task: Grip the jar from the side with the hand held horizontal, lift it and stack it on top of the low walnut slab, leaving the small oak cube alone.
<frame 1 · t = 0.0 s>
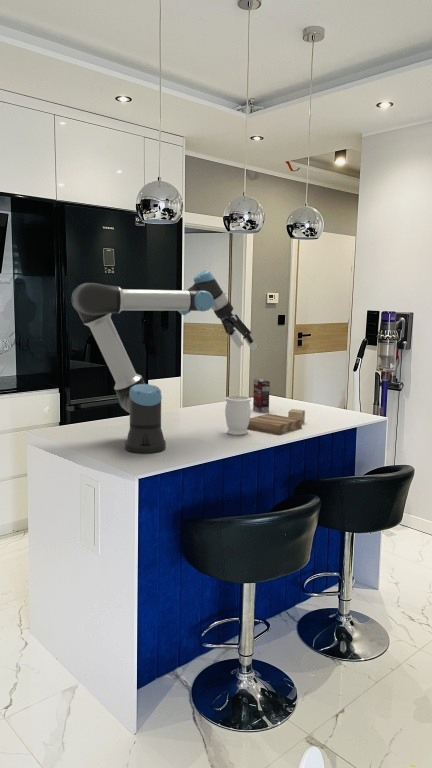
hand: (247, 347, 251), 36 cm above the worktop, tool tilted 35°, fingers open, 13 cm apart
oak cube: (296, 423, 275), on the worktop
walnut slab: (273, 428, 264), on the worktop
supplement box: (260, 411, 302), on the worktop
jar: (237, 433, 254), on the worktop
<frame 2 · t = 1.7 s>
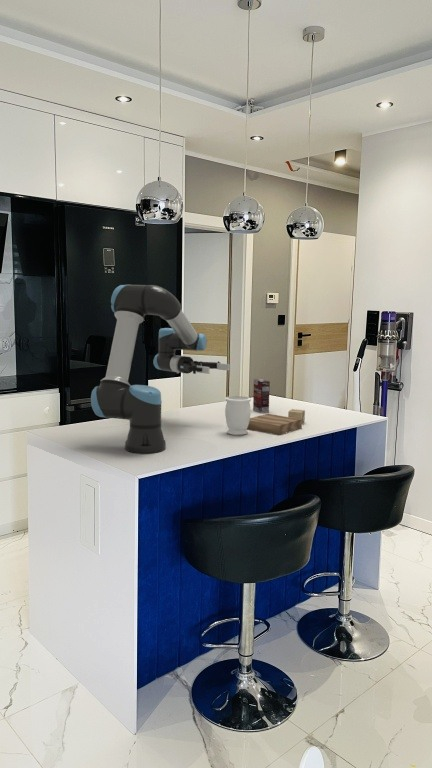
hand: (219, 368, 256), 26 cm above the worktop, tool horizontal, fingers open, 13 cm apart
nothing on the worktop moved.
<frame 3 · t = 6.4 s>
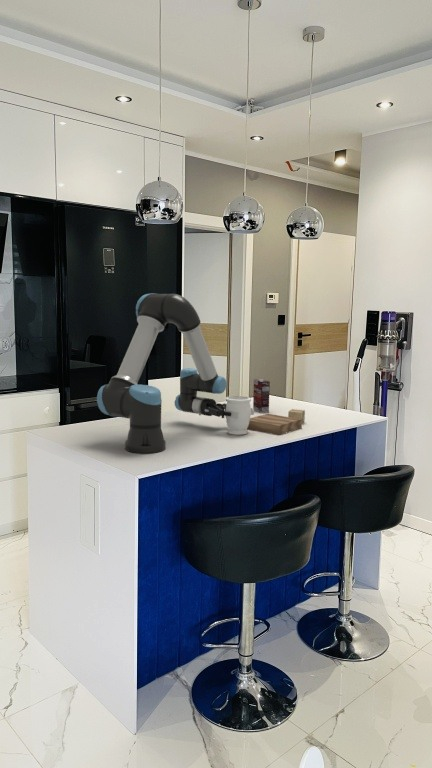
hand: (245, 413, 250), 9 cm above the worktop, tool horizontal, fingers closed on jar, 10 cm apart
jar: (237, 433, 254), on the worktop, touching gripper
everything else where it was.
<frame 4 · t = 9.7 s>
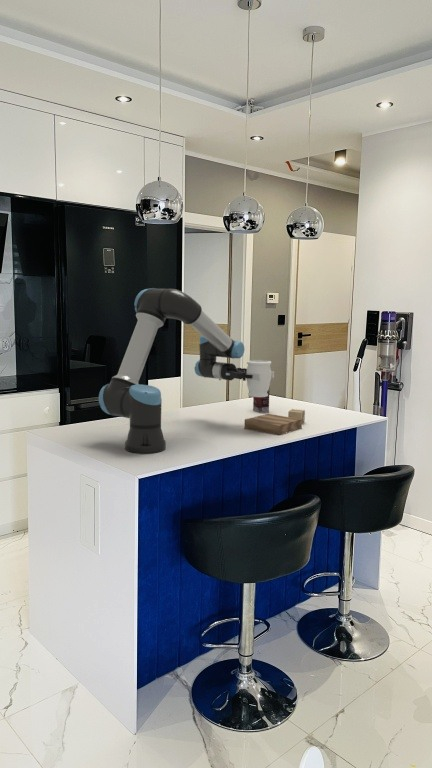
hand: (266, 376, 254), 24 cm above the worktop, tool horizontal, fingers closed on jar, 10 cm apart
jar: (258, 396, 258), point 15 cm above the worktop, touching gripper
everything else where it was.
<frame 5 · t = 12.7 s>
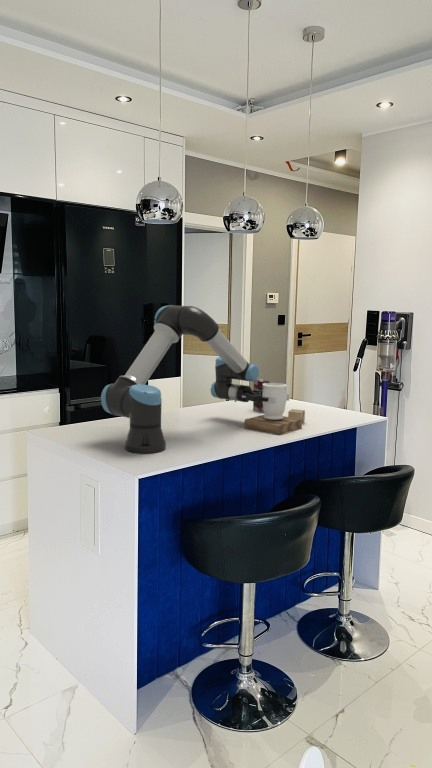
hand: (282, 399, 259), 14 cm above the worktop, tool horizontal, fingers closed on jar, 10 cm apart
jar: (273, 418, 263), point 4 cm above the worktop, touching gripper
everything else where it was.
when the fingers open (13 cm above the worktop, at t = 13.3 s): jar moves 2 cm, resting on walnut slab.
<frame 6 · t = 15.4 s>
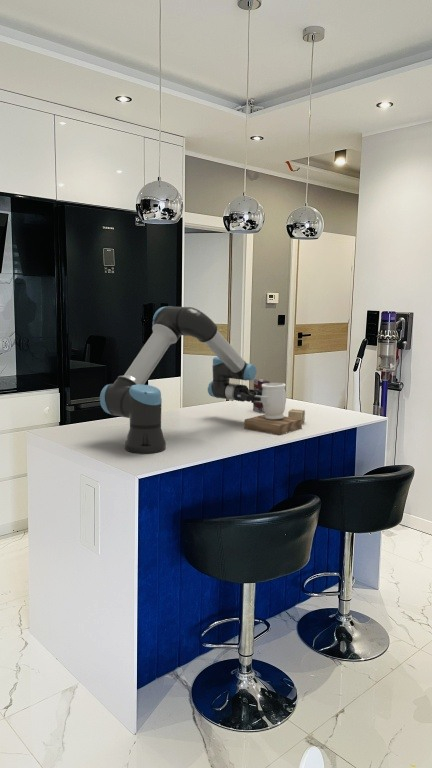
hand: (276, 398, 261), 14 cm above the worktop, tool horizontal, fingers open, 13 cm apart
jar: (274, 418, 265), point 4 cm above the worktop, touching walnut slab
everything else where it was.
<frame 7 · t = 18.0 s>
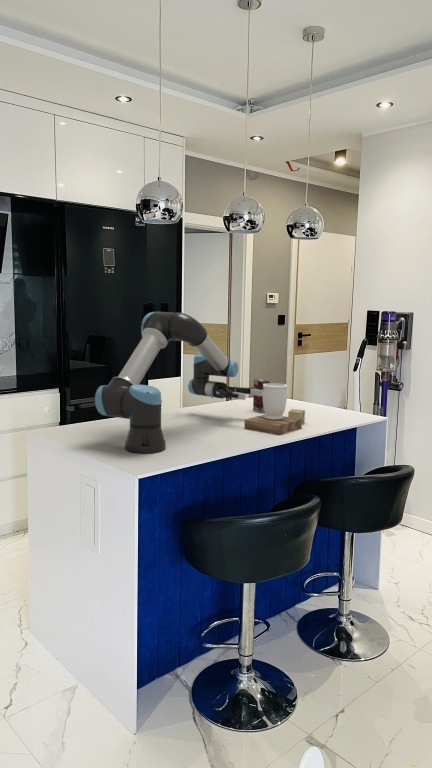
hand: (253, 395, 268), 14 cm above the worktop, tool horizontal, fingers open, 13 cm apart
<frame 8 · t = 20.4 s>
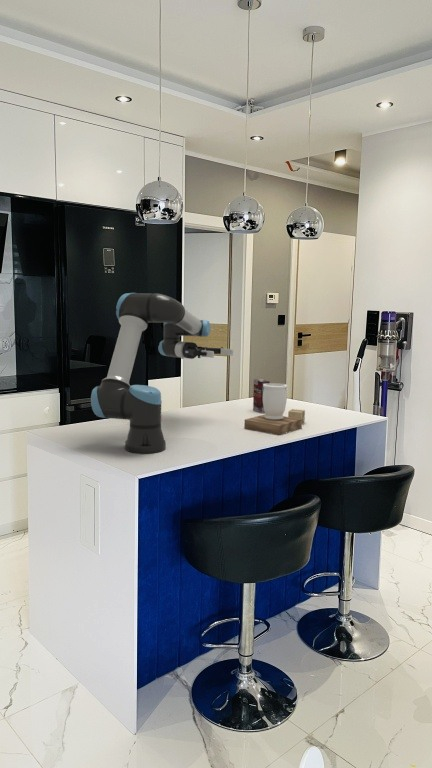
hand: (223, 353, 264), 32 cm above the worktop, tool horizontal, fingers open, 13 cm apart
nothing on the worktop moved.
at the end: jar inside the target area on the walnut slab (2.7 cm from its centre), point 3.8 cm above the walnut slab's base; jar tilted 0°; the gripper is holding nothing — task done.
